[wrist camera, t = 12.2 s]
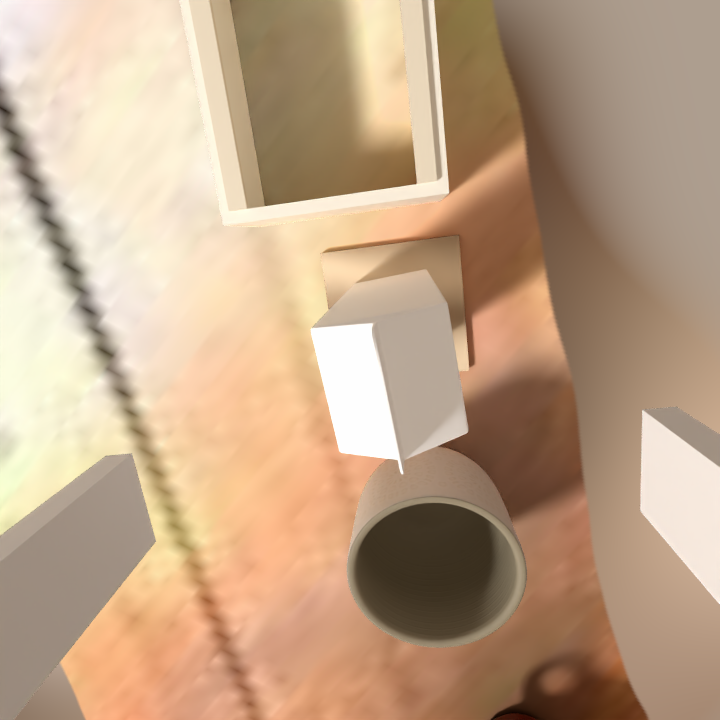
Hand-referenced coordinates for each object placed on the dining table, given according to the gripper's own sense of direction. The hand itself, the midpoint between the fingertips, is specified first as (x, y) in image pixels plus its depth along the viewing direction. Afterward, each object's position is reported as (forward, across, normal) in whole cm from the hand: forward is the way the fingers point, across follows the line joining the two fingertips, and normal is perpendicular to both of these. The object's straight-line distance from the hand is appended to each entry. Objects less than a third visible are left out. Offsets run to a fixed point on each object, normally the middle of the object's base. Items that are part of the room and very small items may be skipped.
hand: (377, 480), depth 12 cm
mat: (+28, 0, 0) cm, 28 cm away
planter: (+28, +1, -17) cm, 33 cm away
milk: (+28, 0, 0) cm, 28 cm away
